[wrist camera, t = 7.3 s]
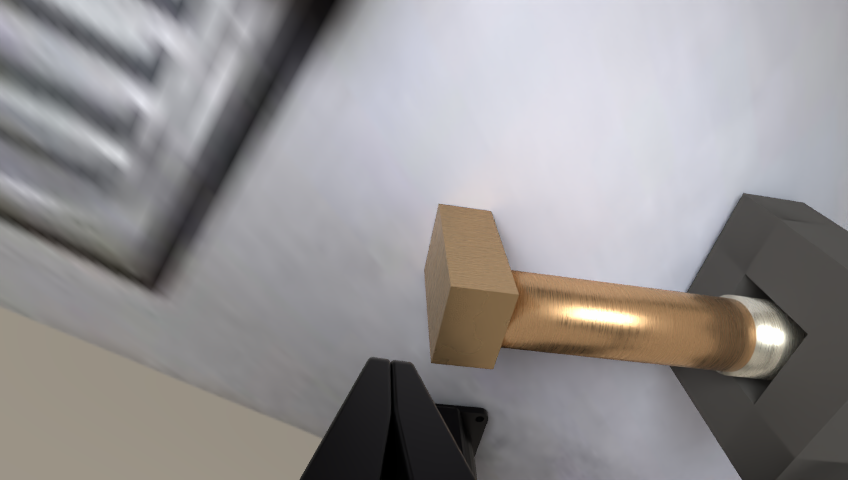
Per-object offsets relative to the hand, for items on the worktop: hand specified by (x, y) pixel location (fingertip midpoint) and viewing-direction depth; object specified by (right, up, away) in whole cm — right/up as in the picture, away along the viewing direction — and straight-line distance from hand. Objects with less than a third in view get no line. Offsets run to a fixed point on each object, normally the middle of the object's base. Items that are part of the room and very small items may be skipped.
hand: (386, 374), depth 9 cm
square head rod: (+11, +1, +14) cm, 18 cm away
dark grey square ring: (+16, +1, +15) cm, 22 cm away
